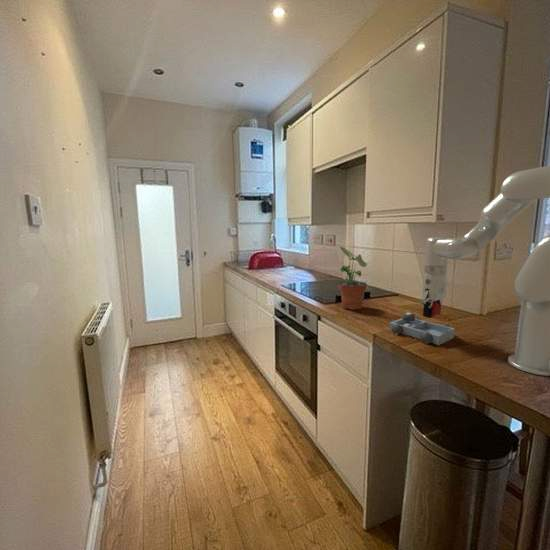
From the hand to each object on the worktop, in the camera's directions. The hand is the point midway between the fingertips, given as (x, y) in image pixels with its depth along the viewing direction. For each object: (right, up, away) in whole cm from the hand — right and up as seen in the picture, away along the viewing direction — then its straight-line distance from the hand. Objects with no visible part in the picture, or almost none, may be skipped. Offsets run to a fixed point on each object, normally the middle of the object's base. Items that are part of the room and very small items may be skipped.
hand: (431, 314), depth 119 cm
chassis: (-2, -8, +5) cm, 10 cm away
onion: (0, -1, 0) cm, 1 cm away
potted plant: (-20, -2, +43) cm, 48 cm away
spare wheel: (-5, -3, +8) cm, 10 cm away
